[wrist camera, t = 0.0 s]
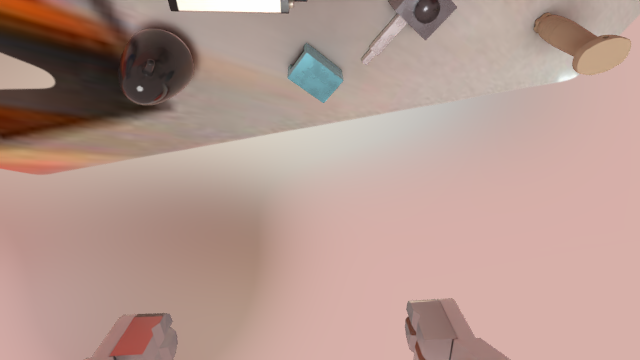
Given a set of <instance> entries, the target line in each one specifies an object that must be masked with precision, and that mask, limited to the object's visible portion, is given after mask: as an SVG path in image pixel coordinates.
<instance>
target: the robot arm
mask: <svg viewBox="0 0 640 360" xmlns="http://www.w3.org/2000/svg"><path fill="white" fill-rule="evenodd" d="M406 310H407V312H408V317H407V318H406V321H405V330H406V338H407V342H408V346H409V349H410V350H411V351H413V352H414V360H510V359H509V358H507V357H506V356H505V355H503V354H502V353H501V352H499V351H498V350H496V349H495V348H493V347H492V346H491V345H489V344H488V343H486V342H485V341H484V340H482V339H481V338H475V336H474V334H473V332H472V331H471V329H470V327H469V325H468V323H467V322H466V320H465V318H464V316H463V314H462V313H461V311H460V309H459V307H458V305H457V304H456V302H455V300H454V299H452V298H451V299H450V298H449V299H437V300H436V299H432V300H416V301H408V303H407V309H406ZM171 324H172V318H171V315H170V314H167V313H166V314H165V313H162V314H137V315H136V314H135V315H123V316H121V317H120V318H119V319H118V320H117V321H116V323H115V324H114V326H113V327H112V329H111V330H110V331H109V333H108V334H107V336H106V337H105V339H104V340H103V342H102V343H101V344H100V346H99V347H98V349H97V350H96V352H95V353H94V354H93V356H92V357H91V358H86V359H84V360H173V358H174V356H175V353H176V349H177V344H178V341H177V334H176V331H175V330H174V329H172V328H171V327H170V326H171Z"/></svg>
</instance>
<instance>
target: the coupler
mask: <svg viewBox="0 0 640 360" xmlns="http://www.w3.org/2000/svg"><path fill="white" fill-rule="evenodd" d="M388 2H389V3H390V4H391V6H392V7H393V9H394V10H395V11H396V12H397V15H396V16H395V17H394V18H393V19H392V20H391V22H390V23H389V24H388V25H387V26H386V27H385V29H384V30H383V31H382V32H381V33H380V34H379V36H378V37H377V38H376V39H375V40H374V41H373V42H372V44H371V45H370V46H369V47H370V49H369V50H368V52H367V53H366V54H365V55H364V56H363V57H362V58H361V60H362V62H363V63H364V64H365V65H367V64H368V63H369V62H370V61H371V59H372V58H373V57H374V56H375V55H376V54H377V55H379V54H380V53H381V51H382V50H383V49H384V48H385V47H386V46H387V45H388V44H389V43H390V41H391V40H392V39H393V38H394V37H395V36H396V35H397V34H398V32H399V31H400V30H401V29H402V28H403V27H404V26H405V25H406V24H407V23H408V24H409V25H410V26H411V27H412V28H413V29H414V30H415V31H416V32H417V33H418V34H419V35H420V36H421V37H422V38H423V39H424V40H426V39H427V38H428V37H429V36H430V35H431V34H432V33H433V32H434V31H435V30H436V29H437V28H438V27H439V26H440V25H441V24H442V23H443V22H444V21H445V20H446V19H447V18H448V16H449V15H450V14H451V13H452V12H453V11H454V10H455V9H456V8H457V6H456V5H455V4H454V3H453V2H452V1H451V0H388Z"/></svg>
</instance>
